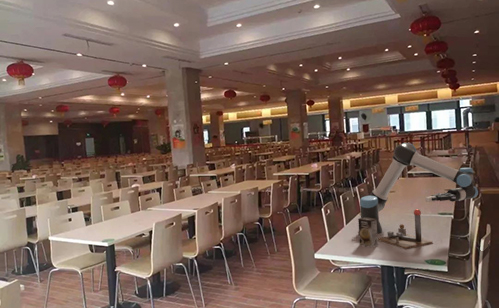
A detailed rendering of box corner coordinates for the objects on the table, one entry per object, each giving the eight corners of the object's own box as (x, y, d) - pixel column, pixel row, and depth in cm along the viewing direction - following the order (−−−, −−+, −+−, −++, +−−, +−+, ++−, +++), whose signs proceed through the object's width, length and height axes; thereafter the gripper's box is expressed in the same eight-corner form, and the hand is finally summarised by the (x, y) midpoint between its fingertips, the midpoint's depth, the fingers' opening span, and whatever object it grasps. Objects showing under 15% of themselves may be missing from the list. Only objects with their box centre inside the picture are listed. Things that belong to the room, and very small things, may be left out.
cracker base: (403, 235, 266) (402, 222, 265) (432, 243, 244) (432, 229, 243) (378, 240, 258) (377, 227, 258) (406, 249, 236) (405, 235, 236)
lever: (387, 237, 258) (385, 207, 257) (390, 235, 261) (389, 206, 260) (420, 242, 242) (418, 210, 241) (423, 240, 245) (422, 209, 244)
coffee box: (359, 245, 251) (357, 218, 250) (365, 242, 255) (363, 216, 254) (372, 247, 244) (370, 220, 243) (378, 245, 248) (376, 218, 247)
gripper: (465, 202, 249) (435, 207, 241) (447, 199, 261) (418, 204, 253) (464, 189, 249) (434, 194, 240) (446, 187, 261) (418, 192, 252)
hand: (426, 199), depth 246 cm, fingers closed
